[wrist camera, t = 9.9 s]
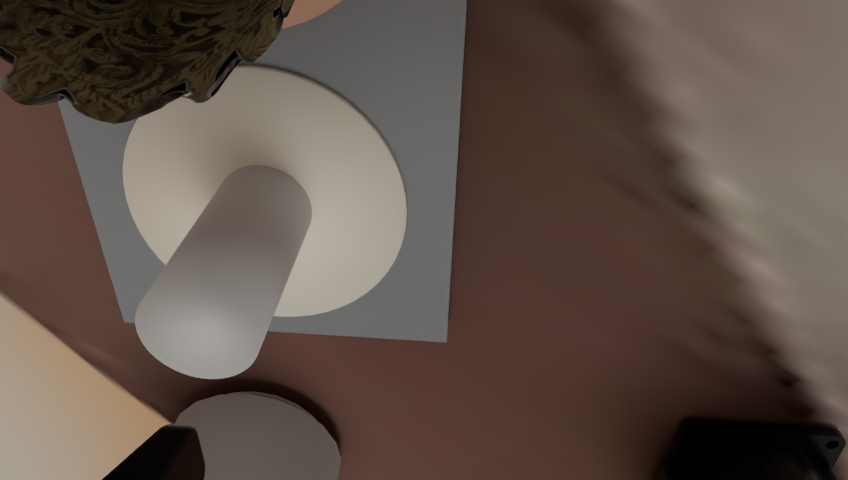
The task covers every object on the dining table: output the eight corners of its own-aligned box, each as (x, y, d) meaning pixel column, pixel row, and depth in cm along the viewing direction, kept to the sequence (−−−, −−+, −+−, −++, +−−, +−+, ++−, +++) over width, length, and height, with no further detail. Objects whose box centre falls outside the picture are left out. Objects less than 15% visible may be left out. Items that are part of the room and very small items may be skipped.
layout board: (495, -480, 13) (515, -754, 7) (447, 320, 25) (438, 493, 18) (-83, -487, 13) (-566, -749, 7) (138, 301, 25) (26, 464, 19)
